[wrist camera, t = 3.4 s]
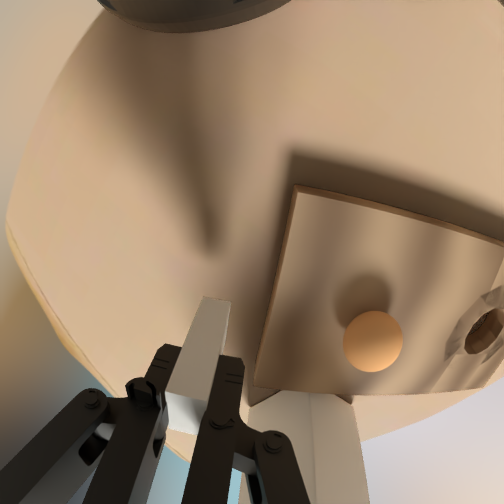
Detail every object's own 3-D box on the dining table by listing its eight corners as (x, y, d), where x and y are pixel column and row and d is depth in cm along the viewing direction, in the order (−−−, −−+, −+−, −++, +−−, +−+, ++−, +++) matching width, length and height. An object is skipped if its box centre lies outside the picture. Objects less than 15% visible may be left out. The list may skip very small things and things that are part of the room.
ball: (348, 295, 16) (363, 334, 13) (400, 302, 16) (422, 338, 12) (330, 342, 17) (339, 383, 14) (379, 346, 17) (393, 385, 14)
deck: (255, 362, 22) (253, 386, 19) (294, 183, 16) (297, 192, 14) (474, 371, 21) (483, 387, 19) (535, 254, 16) (550, 265, 14)
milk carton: (248, 407, 24) (224, 595, 7) (307, 373, 22) (315, 603, 4) (297, 433, 26) (295, 593, 8) (353, 404, 23) (377, 585, 6)
